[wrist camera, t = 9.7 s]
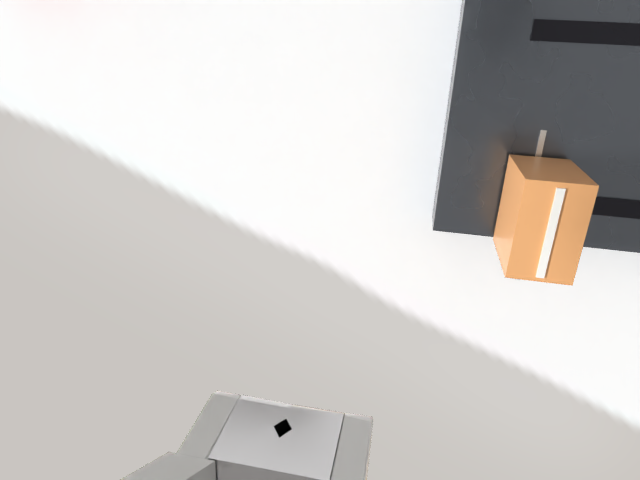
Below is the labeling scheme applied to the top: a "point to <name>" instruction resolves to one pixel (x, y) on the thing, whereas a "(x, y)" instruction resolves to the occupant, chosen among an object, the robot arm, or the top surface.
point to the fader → (543, 218)
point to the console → (544, 109)
